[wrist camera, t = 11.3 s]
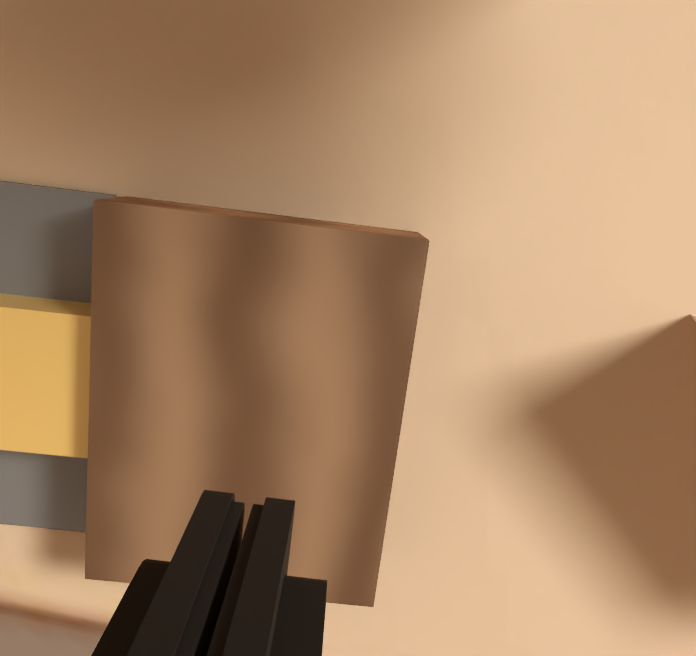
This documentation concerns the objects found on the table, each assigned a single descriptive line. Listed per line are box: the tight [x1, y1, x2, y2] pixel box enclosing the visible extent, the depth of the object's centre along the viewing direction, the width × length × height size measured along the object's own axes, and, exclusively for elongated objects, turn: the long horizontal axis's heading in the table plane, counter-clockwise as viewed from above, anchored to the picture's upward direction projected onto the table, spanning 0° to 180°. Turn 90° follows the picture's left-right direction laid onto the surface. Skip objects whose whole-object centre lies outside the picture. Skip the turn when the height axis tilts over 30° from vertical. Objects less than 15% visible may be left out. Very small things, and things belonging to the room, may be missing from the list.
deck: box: [85, 197, 429, 607], centre depth 29 cm, size 14×18×4 cm
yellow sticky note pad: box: [0, 293, 91, 458], centre depth 29 cm, size 10×7×2 cm
